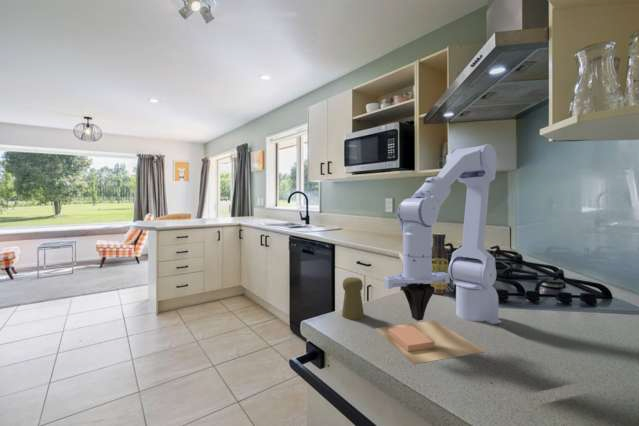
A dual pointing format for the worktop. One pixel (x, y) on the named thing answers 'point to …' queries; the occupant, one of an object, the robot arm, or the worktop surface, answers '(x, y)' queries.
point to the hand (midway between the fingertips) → (417, 318)
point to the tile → (411, 338)
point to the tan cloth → (444, 339)
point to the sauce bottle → (439, 260)
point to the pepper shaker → (352, 299)
